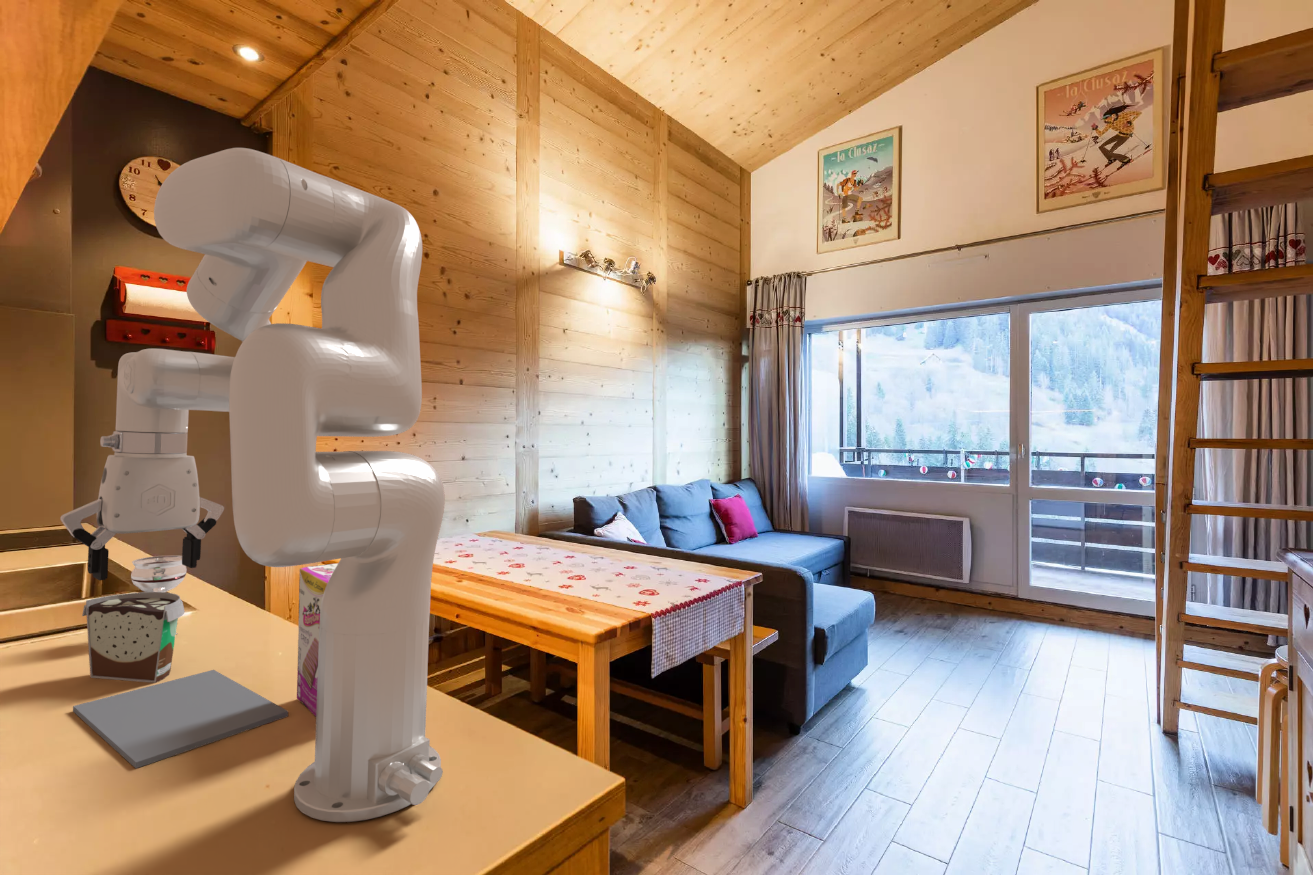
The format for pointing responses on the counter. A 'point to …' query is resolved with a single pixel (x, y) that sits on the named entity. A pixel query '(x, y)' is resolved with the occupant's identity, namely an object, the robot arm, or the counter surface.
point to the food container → (132, 635)
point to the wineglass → (158, 573)
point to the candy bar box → (310, 630)
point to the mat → (176, 716)
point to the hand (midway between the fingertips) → (146, 571)
